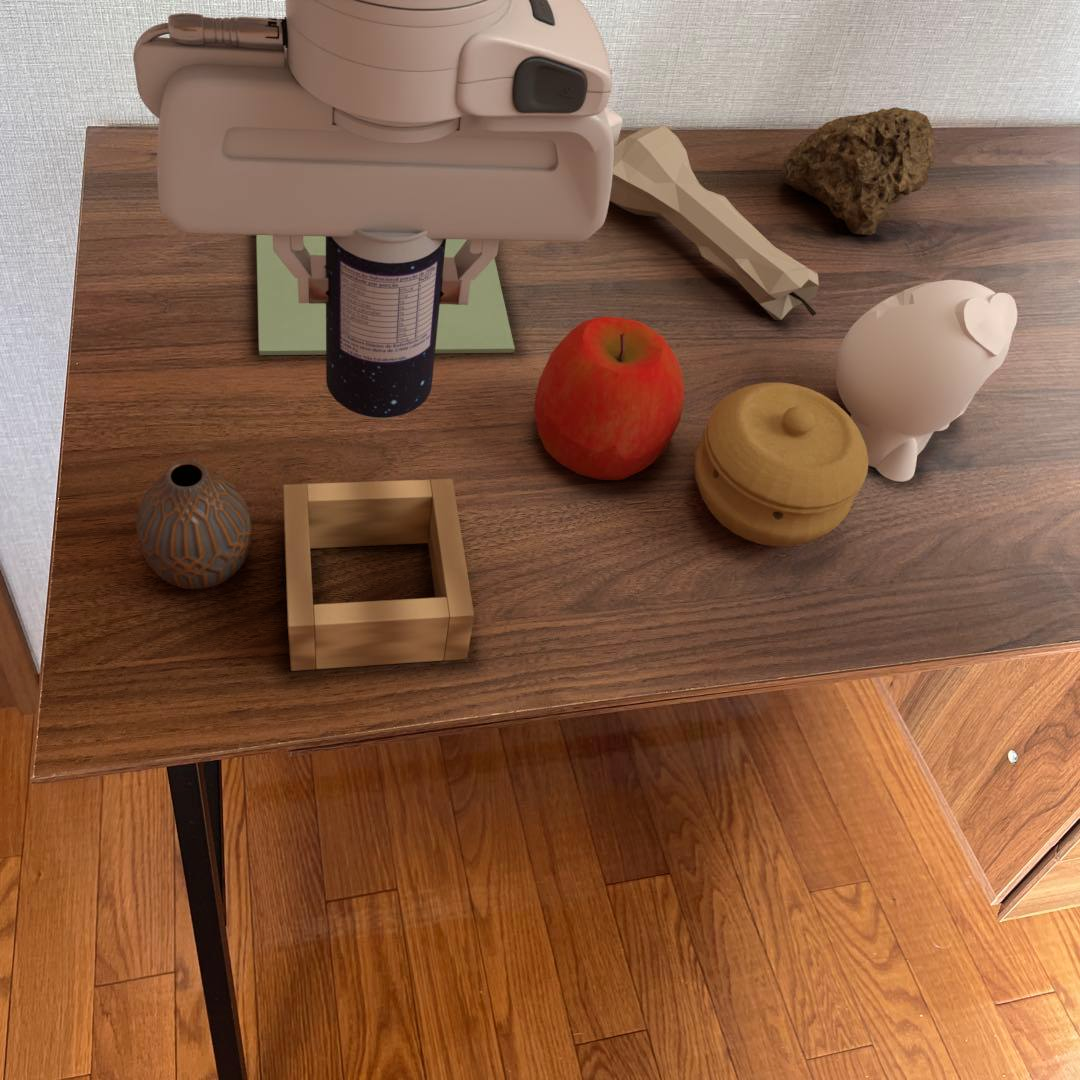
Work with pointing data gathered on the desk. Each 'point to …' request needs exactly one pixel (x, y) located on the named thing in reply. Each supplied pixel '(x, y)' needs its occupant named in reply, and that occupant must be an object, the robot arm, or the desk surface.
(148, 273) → the desk surface
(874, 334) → the figurine
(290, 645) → the holder
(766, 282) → the faceted club
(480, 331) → the mat
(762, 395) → the pot
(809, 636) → the desk surface
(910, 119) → the brown porous lump
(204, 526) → the vase
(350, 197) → the robot arm
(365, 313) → the beverage can
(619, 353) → the apple
